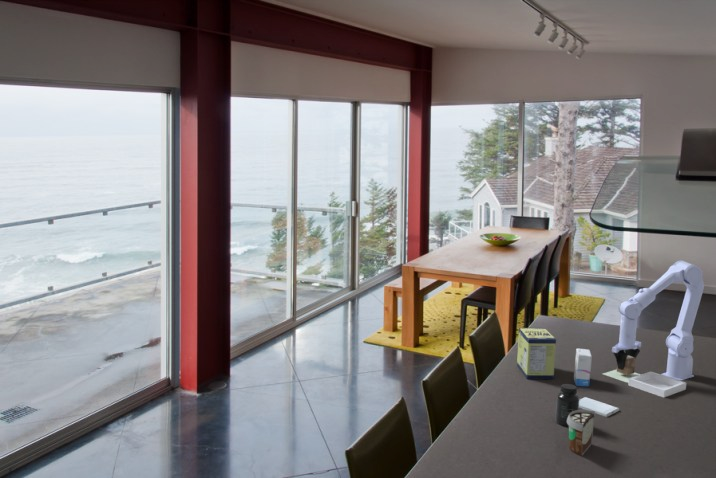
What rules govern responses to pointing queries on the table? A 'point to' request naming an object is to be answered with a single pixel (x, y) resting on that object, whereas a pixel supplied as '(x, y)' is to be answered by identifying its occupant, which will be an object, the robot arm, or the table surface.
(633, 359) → the walnut block
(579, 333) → the table surface
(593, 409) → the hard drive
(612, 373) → the sage pad
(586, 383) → the ink box
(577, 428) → the food container
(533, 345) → the protein box
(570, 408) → the supplement bottle
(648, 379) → the grey bin
